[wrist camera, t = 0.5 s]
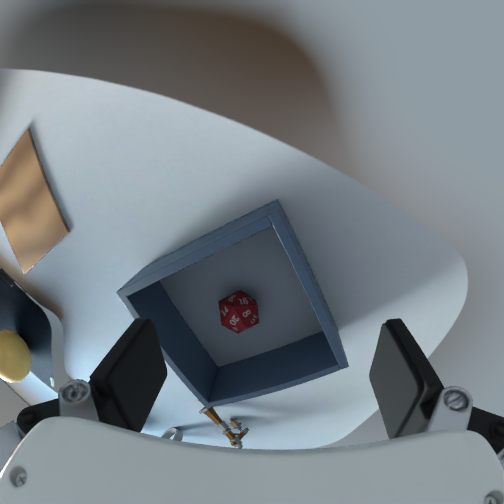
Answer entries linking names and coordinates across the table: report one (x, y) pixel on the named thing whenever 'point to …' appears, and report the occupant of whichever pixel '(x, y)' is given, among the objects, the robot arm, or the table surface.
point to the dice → (238, 312)
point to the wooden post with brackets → (226, 427)
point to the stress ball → (13, 356)
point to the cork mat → (28, 205)
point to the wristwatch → (171, 432)
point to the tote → (252, 369)
